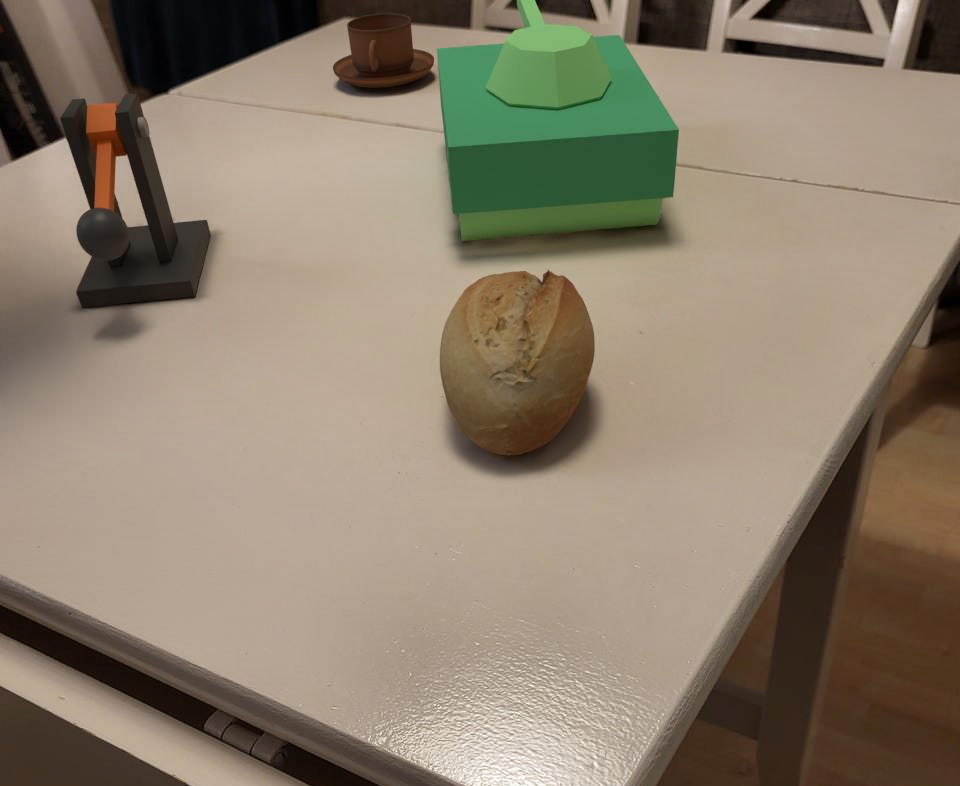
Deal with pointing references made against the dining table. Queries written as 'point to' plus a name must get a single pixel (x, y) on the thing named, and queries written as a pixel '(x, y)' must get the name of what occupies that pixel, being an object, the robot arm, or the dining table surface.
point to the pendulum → (104, 188)
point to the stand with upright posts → (152, 248)
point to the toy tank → (553, 133)
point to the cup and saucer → (382, 53)
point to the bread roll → (516, 359)
